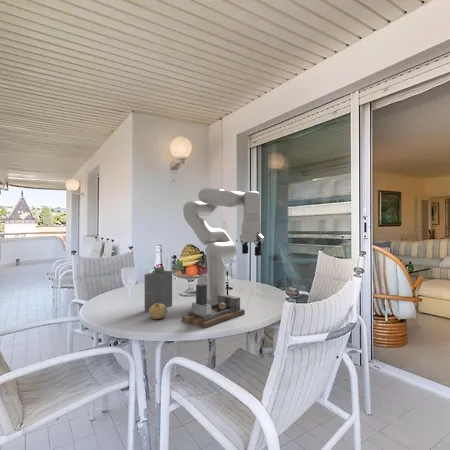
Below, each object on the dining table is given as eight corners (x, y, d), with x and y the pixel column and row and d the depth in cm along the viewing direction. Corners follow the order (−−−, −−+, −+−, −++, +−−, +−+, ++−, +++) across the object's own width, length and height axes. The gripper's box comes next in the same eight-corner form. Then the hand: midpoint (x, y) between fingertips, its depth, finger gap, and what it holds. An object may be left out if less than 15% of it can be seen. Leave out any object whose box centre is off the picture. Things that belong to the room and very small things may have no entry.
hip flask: (147, 312, 150) (147, 269, 150) (142, 310, 153) (142, 269, 153) (173, 305, 162) (173, 266, 162) (168, 304, 165) (168, 265, 165)
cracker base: (181, 320, 137) (181, 303, 137) (221, 308, 157) (221, 293, 157) (204, 328, 128) (204, 309, 128) (244, 313, 148) (244, 297, 148)
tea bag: (203, 292, 193) (203, 275, 193) (197, 290, 198) (197, 274, 198) (208, 291, 195) (208, 275, 195) (202, 289, 200) (202, 273, 200)
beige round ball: (216, 310, 146) (216, 302, 146) (222, 308, 149) (222, 301, 149) (222, 311, 144) (222, 303, 144) (228, 310, 147) (228, 302, 147)
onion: (147, 316, 143) (147, 301, 143) (164, 314, 147) (164, 299, 147) (150, 322, 136) (150, 305, 136) (169, 319, 139) (169, 303, 139)
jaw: (191, 313, 138) (191, 284, 138) (196, 311, 140) (196, 283, 140) (206, 317, 132) (206, 286, 132) (211, 315, 135) (211, 285, 135)
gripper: (234, 217, 155) (234, 253, 155) (256, 217, 140) (256, 256, 141) (247, 218, 159) (246, 252, 159) (269, 218, 144) (269, 255, 145)
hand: (251, 254), depth 150 cm, fingers open, 9 cm apart
